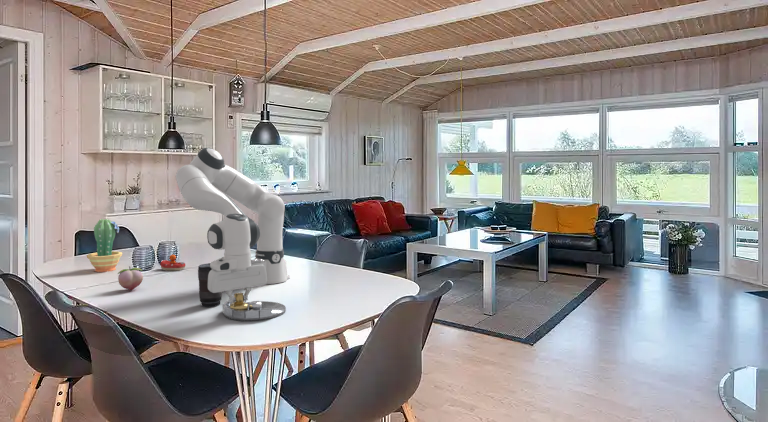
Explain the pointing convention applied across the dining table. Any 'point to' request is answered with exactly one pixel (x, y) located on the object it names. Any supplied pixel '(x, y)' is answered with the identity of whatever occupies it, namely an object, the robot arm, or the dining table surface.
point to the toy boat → (172, 264)
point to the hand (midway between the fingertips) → (238, 301)
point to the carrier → (254, 311)
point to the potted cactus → (105, 247)
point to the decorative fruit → (130, 278)
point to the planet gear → (239, 303)
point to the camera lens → (205, 295)
